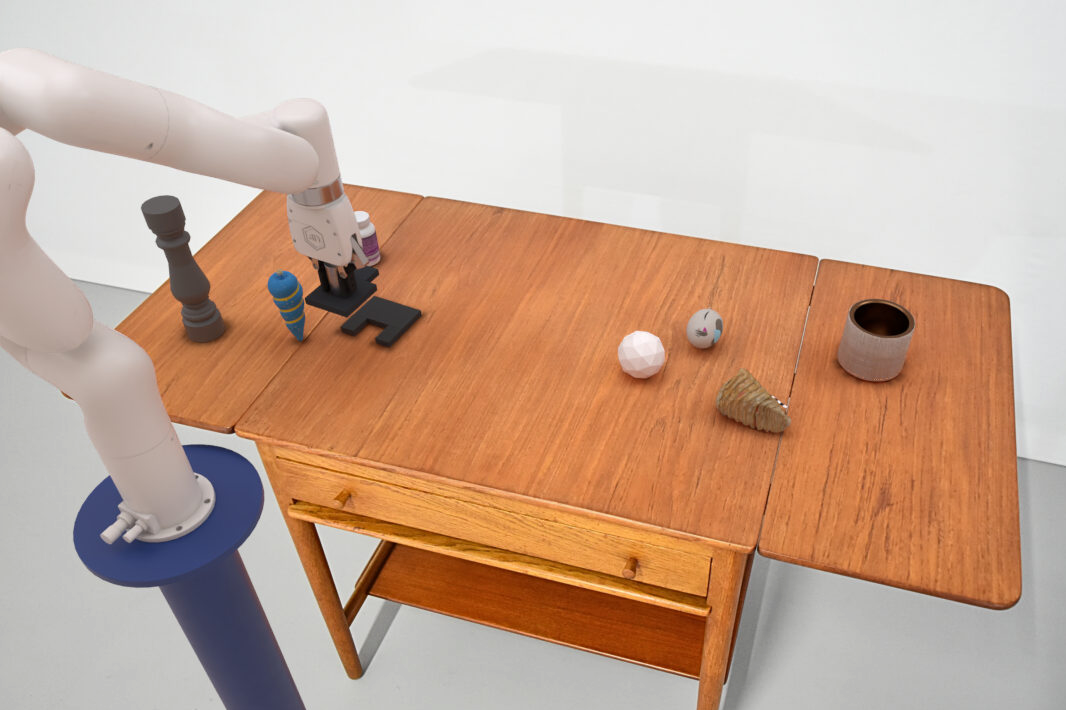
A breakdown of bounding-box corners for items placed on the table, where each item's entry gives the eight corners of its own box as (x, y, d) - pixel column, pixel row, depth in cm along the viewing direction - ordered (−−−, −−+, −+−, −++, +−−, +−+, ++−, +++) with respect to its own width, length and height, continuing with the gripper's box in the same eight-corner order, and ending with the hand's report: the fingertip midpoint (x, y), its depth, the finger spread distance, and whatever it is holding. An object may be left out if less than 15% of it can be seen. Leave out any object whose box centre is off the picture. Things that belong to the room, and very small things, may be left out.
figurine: (712, 363, 151) (716, 332, 146) (678, 354, 153) (681, 323, 148) (726, 336, 156) (730, 305, 152) (693, 327, 158) (696, 297, 154)
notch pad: (389, 348, 153) (388, 342, 152) (341, 331, 156) (340, 326, 155) (421, 315, 160) (421, 310, 159) (375, 300, 163) (374, 295, 162)
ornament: (307, 351, 152) (287, 279, 142) (279, 348, 153) (257, 275, 142) (319, 332, 156) (301, 260, 145) (291, 329, 156) (271, 257, 146)
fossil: (719, 386, 147) (709, 417, 140) (729, 358, 143) (719, 388, 136) (790, 410, 146) (783, 442, 139) (801, 382, 142) (795, 414, 135)
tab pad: (347, 318, 139) (338, 282, 135) (305, 304, 142) (296, 269, 137) (390, 278, 147) (384, 243, 142) (350, 265, 149) (343, 231, 145)
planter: (824, 348, 154) (835, 304, 148) (880, 337, 157) (893, 292, 150) (856, 389, 147) (869, 344, 140) (914, 376, 149) (929, 331, 143)
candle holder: (179, 337, 154) (129, 209, 137) (204, 316, 158) (159, 191, 141) (208, 346, 153) (161, 218, 136) (233, 325, 157) (190, 199, 140)
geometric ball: (630, 378, 152) (620, 332, 151) (675, 371, 149) (665, 323, 148) (616, 386, 145) (606, 337, 144) (663, 378, 142) (653, 329, 141)
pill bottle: (385, 254, 173) (378, 211, 167) (373, 270, 170) (364, 226, 163) (360, 250, 174) (351, 206, 168) (347, 265, 171) (337, 221, 164)
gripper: (253, 186, 129) (283, 289, 142) (346, 213, 124) (368, 317, 137) (287, 163, 134) (313, 264, 147) (378, 188, 129) (397, 291, 142)
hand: (340, 289), depth 142 cm, fingers closed on tab pad, 3 cm apart
